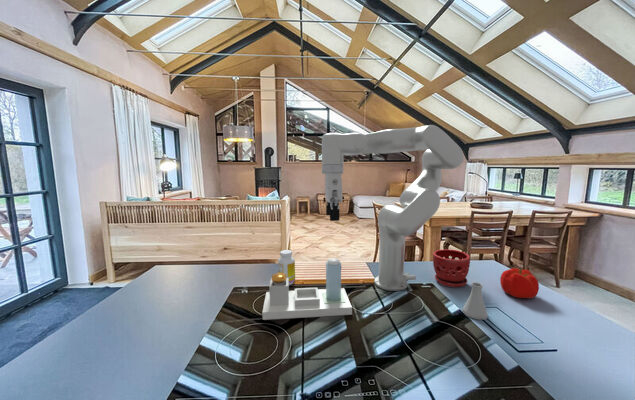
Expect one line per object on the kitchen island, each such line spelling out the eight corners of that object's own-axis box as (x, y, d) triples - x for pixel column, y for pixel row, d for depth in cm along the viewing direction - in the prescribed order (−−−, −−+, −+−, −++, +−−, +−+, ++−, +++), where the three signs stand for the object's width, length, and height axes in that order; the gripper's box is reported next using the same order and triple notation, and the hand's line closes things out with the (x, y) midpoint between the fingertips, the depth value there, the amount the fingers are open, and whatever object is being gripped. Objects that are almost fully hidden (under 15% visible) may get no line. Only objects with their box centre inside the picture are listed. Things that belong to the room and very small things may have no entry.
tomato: (521, 304, 90) (524, 279, 89) (491, 288, 102) (493, 265, 101) (546, 301, 92) (550, 276, 91) (514, 285, 104) (517, 263, 103)
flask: (484, 310, 87) (487, 281, 86) (490, 322, 80) (493, 291, 79) (459, 306, 90) (462, 278, 88) (463, 318, 83) (466, 287, 81)
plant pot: (448, 273, 116) (450, 246, 114) (475, 286, 103) (478, 257, 102) (424, 278, 111) (426, 250, 109) (450, 292, 99) (452, 261, 97)
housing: (344, 294, 98) (344, 271, 96) (351, 314, 85) (352, 287, 84) (266, 298, 95) (265, 274, 94) (262, 319, 82) (261, 292, 81)
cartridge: (343, 295, 92) (343, 259, 90) (338, 302, 87) (338, 264, 85) (329, 292, 94) (329, 256, 92) (323, 299, 89) (323, 261, 87)
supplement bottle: (296, 278, 111) (296, 249, 109) (293, 286, 104) (293, 254, 103) (280, 278, 112) (280, 248, 110) (276, 285, 105) (275, 254, 103)
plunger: (287, 295, 91) (286, 272, 90) (286, 302, 87) (286, 278, 85) (272, 295, 91) (272, 273, 90) (271, 303, 86) (271, 279, 85)
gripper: (348, 170, 85) (347, 222, 88) (338, 169, 102) (338, 212, 105) (325, 170, 84) (325, 223, 87) (319, 169, 102) (319, 213, 104)
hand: (332, 217), depth 96 cm, fingers open, 9 cm apart
